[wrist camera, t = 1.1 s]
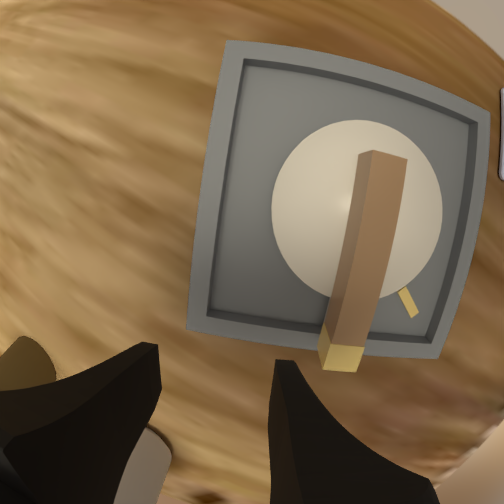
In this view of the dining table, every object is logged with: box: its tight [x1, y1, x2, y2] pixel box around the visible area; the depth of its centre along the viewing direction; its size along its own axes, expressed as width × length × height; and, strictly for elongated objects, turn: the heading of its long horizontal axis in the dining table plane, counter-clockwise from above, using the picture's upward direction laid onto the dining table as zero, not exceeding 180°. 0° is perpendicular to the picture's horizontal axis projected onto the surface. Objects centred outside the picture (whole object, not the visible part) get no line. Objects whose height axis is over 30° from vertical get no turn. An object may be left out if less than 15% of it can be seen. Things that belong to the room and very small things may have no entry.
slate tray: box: [186, 40, 490, 359], centre depth 17 cm, size 18×18×2 cm
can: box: [114, 427, 172, 504], centre depth 19 cm, size 8×8×12 cm
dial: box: [271, 120, 443, 372], centre depth 15 cm, size 10×13×4 cm
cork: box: [0, 336, 56, 391], centre depth 18 cm, size 6×6×11 cm
